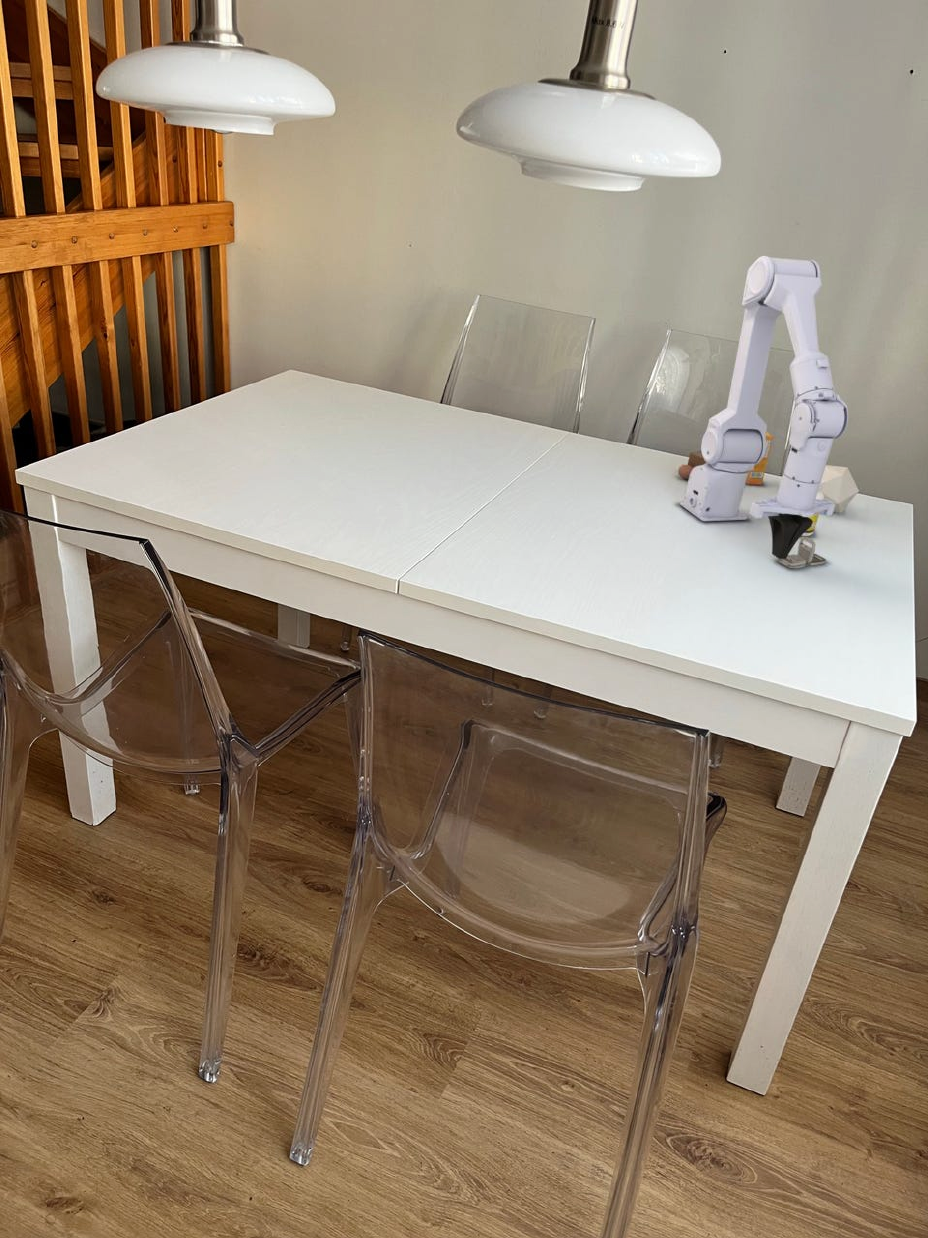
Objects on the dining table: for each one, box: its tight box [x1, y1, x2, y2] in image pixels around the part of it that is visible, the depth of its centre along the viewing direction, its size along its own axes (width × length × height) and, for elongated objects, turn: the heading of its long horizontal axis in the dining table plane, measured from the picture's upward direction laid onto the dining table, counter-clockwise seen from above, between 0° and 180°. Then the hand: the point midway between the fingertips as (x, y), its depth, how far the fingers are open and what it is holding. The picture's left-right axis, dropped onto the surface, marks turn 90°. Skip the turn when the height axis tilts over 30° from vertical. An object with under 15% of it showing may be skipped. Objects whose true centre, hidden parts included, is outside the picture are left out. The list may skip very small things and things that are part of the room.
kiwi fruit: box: [677, 464, 694, 480], centre depth 189 cm, size 6×5×3 cm
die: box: [820, 464, 860, 514], centre depth 181 cm, size 8×9×10 cm
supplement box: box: [745, 431, 774, 486], centre depth 189 cm, size 3×3×10 cm
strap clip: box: [778, 536, 827, 569], centre depth 157 cm, size 8×3×4 cm, turn 119°
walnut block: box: [687, 450, 707, 468], centre depth 189 cm, size 5×5×5 cm
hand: (778, 556), depth 156 cm, fingers closed
